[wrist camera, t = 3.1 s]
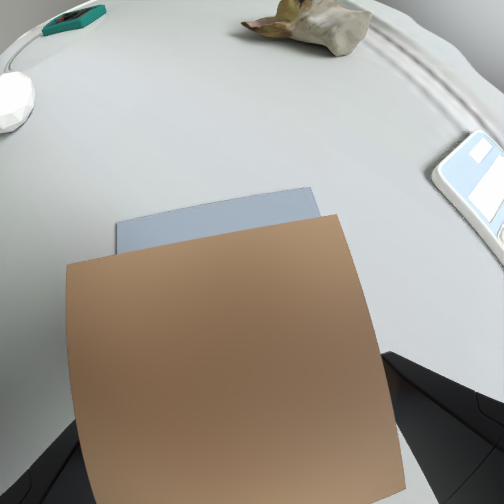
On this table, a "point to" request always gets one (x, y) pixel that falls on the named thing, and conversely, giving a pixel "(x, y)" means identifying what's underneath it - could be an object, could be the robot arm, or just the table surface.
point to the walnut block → (231, 372)
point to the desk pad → (216, 219)
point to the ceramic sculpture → (315, 24)
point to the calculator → (476, 186)
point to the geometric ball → (15, 100)
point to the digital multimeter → (74, 20)
